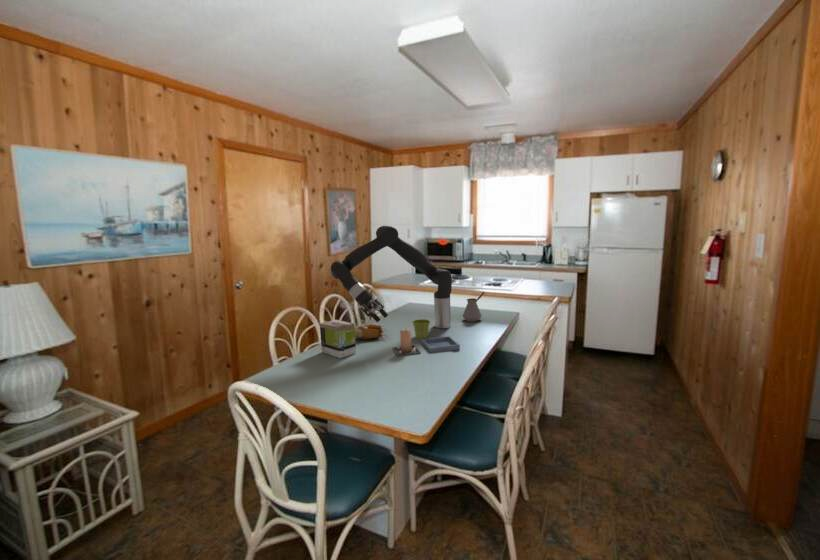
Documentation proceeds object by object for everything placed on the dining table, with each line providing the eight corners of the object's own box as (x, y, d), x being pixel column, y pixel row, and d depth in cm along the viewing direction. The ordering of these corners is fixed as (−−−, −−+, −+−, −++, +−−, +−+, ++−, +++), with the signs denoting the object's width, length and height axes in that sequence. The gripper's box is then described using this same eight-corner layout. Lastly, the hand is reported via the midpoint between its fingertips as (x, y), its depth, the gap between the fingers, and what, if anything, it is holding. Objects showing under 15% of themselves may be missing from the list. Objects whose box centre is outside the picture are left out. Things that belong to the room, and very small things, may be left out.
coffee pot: (475, 323, 232) (475, 298, 229) (459, 321, 239) (458, 296, 237) (492, 315, 248) (492, 292, 246) (476, 313, 255) (476, 290, 253)
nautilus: (396, 338, 210) (379, 348, 198) (364, 331, 222) (346, 339, 209) (396, 324, 208) (378, 333, 196) (364, 317, 220) (346, 325, 207)
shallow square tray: (421, 343, 198) (421, 339, 198) (449, 340, 201) (449, 336, 201) (430, 353, 184) (430, 348, 184) (459, 349, 187) (459, 344, 187)
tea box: (357, 353, 188) (355, 323, 186) (339, 359, 181) (337, 328, 178) (337, 347, 198) (335, 318, 196) (320, 352, 191) (318, 322, 189)
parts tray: (392, 349, 191) (392, 345, 191) (414, 347, 193) (414, 343, 193) (397, 357, 180) (397, 352, 180) (420, 354, 183) (420, 350, 182)
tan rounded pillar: (400, 350, 189) (399, 327, 187) (410, 348, 190) (409, 326, 188) (402, 353, 184) (401, 330, 182) (412, 352, 185) (411, 329, 183)
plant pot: (430, 334, 213) (430, 319, 212) (430, 340, 204) (429, 323, 203) (413, 334, 214) (413, 319, 213) (412, 340, 205) (411, 323, 203)
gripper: (357, 291, 183) (381, 317, 181) (371, 286, 196) (393, 310, 194) (348, 302, 186) (371, 327, 183) (362, 296, 199) (384, 320, 197)
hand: (382, 318), depth 189 cm, fingers open, 8 cm apart
